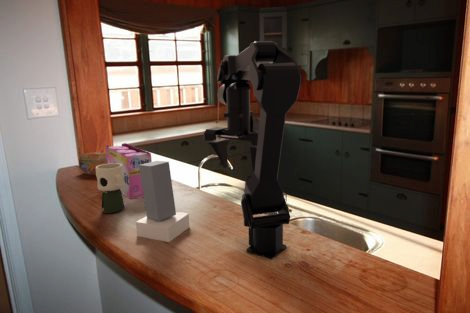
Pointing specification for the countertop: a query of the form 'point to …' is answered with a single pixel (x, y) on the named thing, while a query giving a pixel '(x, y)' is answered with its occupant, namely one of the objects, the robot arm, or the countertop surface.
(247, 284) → the countertop surface
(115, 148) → the gum box
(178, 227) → the cream slab
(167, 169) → the grey column
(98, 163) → the tin
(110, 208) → the character mug
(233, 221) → the countertop surface
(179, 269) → the countertop surface
